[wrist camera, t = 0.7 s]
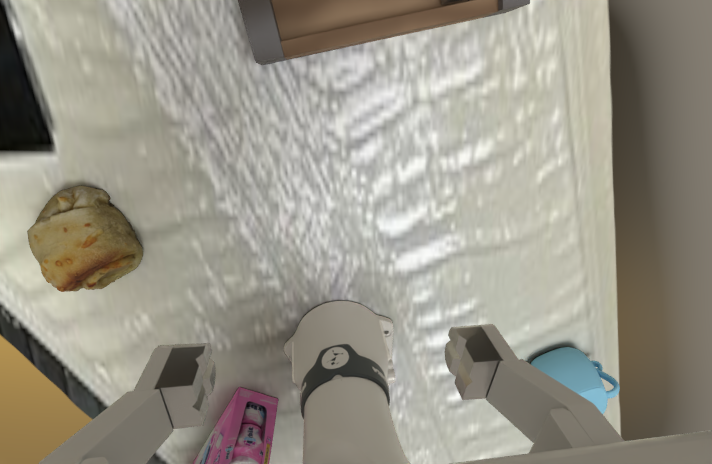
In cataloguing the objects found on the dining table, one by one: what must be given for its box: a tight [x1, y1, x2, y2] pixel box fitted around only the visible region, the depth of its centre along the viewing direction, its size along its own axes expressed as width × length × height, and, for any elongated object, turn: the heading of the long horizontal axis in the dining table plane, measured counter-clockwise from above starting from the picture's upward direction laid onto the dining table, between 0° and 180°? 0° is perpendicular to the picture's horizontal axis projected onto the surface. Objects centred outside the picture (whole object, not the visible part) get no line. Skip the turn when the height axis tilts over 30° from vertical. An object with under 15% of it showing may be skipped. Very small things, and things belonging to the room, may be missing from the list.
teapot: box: [531, 347, 620, 414], centre depth 62 cm, size 13×11×18 cm
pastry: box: [27, 186, 143, 292], centre depth 42 cm, size 14×12×8 cm
